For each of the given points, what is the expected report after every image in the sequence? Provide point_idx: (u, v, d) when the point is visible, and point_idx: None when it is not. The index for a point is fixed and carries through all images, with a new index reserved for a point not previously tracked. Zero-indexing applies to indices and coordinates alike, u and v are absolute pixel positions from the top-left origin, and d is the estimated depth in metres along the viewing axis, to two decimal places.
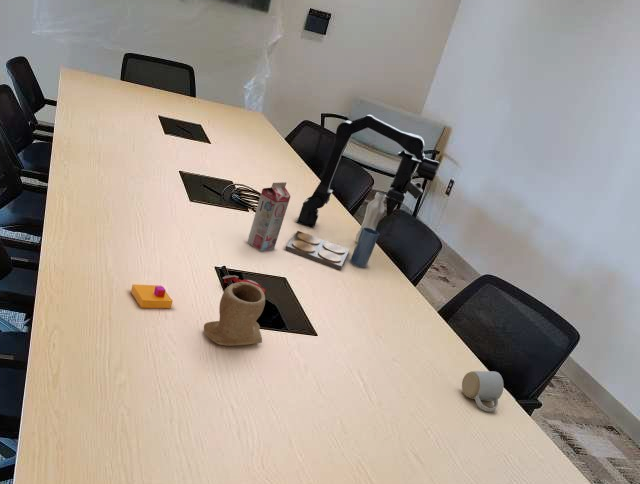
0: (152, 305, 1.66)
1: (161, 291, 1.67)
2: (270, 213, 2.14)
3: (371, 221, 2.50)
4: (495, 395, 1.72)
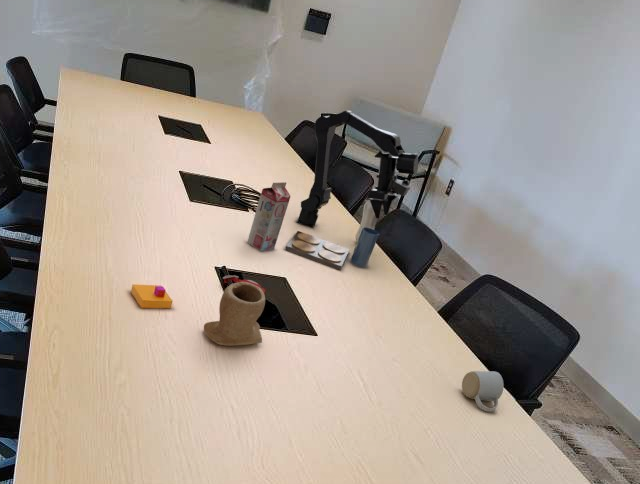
0: (152, 305, 1.66)
1: (161, 291, 1.67)
2: (270, 213, 2.14)
3: (369, 221, 2.49)
4: (495, 395, 1.72)
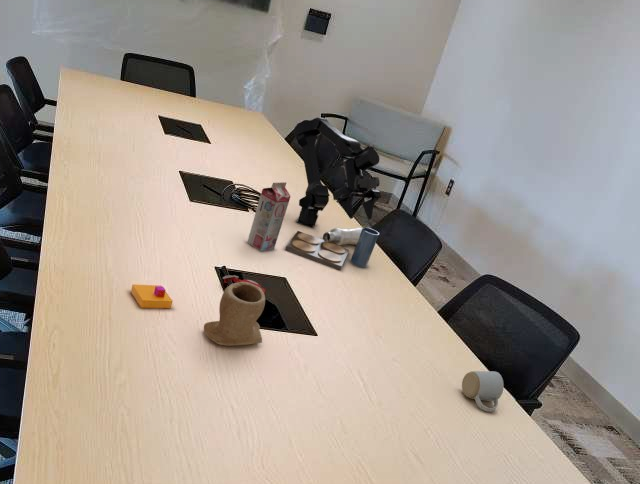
0: (152, 305, 1.66)
1: (161, 291, 1.67)
2: (270, 213, 2.14)
3: (345, 243, 2.48)
4: (495, 395, 1.72)
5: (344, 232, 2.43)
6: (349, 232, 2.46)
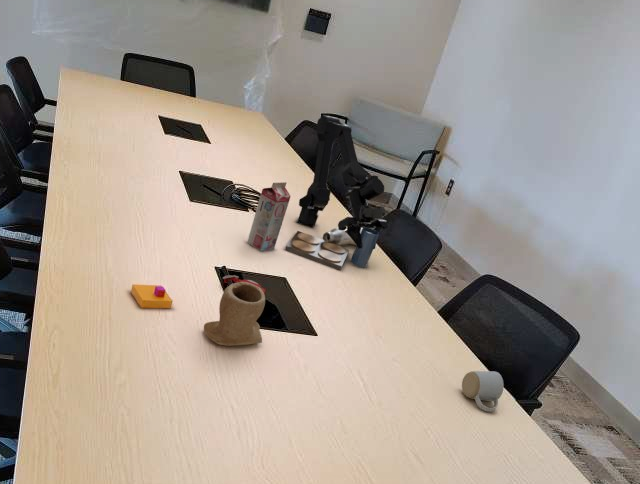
0: (152, 305, 1.66)
1: (161, 291, 1.67)
2: (270, 213, 2.14)
3: (345, 243, 2.48)
4: (495, 395, 1.72)
5: (344, 232, 2.43)
6: None
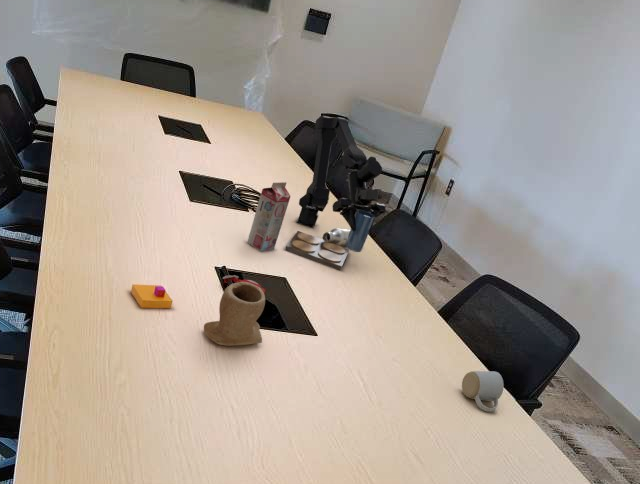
0: (152, 305, 1.66)
1: (161, 291, 1.67)
2: (270, 213, 2.14)
3: (345, 243, 2.48)
4: (495, 395, 1.72)
5: (344, 232, 2.43)
6: (349, 232, 2.46)
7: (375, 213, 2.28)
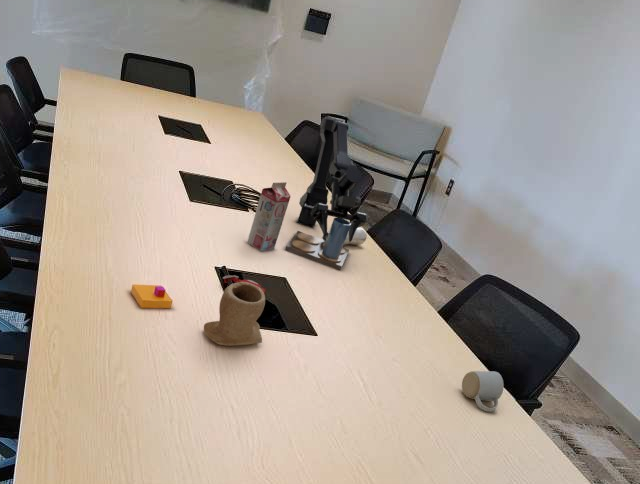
0: (152, 305, 1.66)
1: (161, 291, 1.67)
2: (270, 213, 2.14)
3: (345, 243, 2.48)
4: (495, 395, 1.72)
5: None
6: None
7: (358, 222, 2.27)
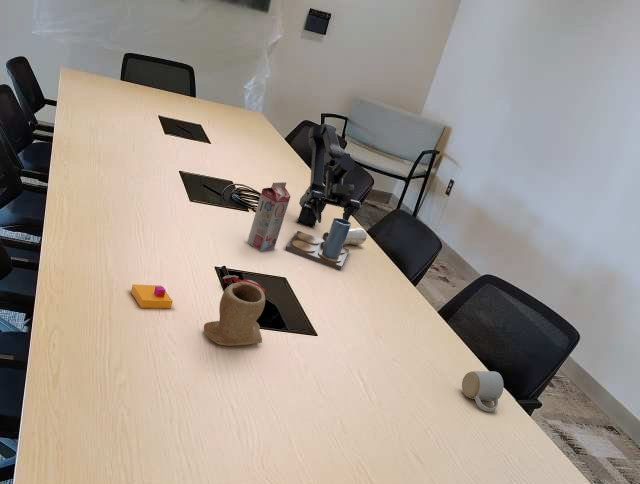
0: (152, 305, 1.66)
1: (161, 291, 1.67)
2: (270, 213, 2.14)
3: (345, 243, 2.48)
4: (495, 395, 1.72)
5: None
6: (349, 232, 2.46)
7: (351, 209, 2.33)
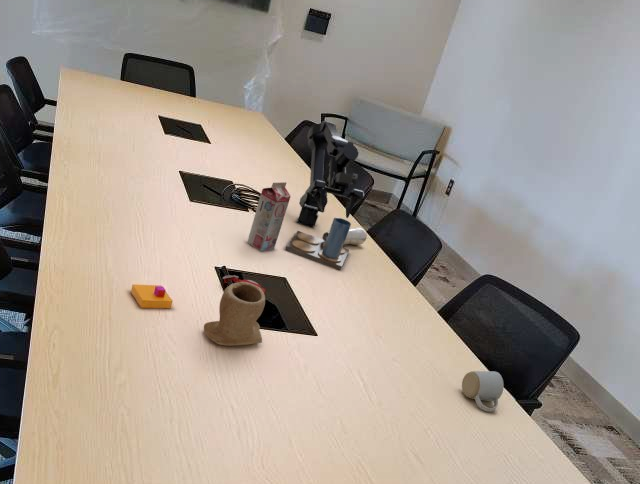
0: (152, 305, 1.66)
1: (161, 291, 1.67)
2: (270, 213, 2.14)
3: (345, 243, 2.48)
4: (495, 395, 1.72)
5: None
6: (349, 232, 2.46)
7: (355, 199, 2.32)
